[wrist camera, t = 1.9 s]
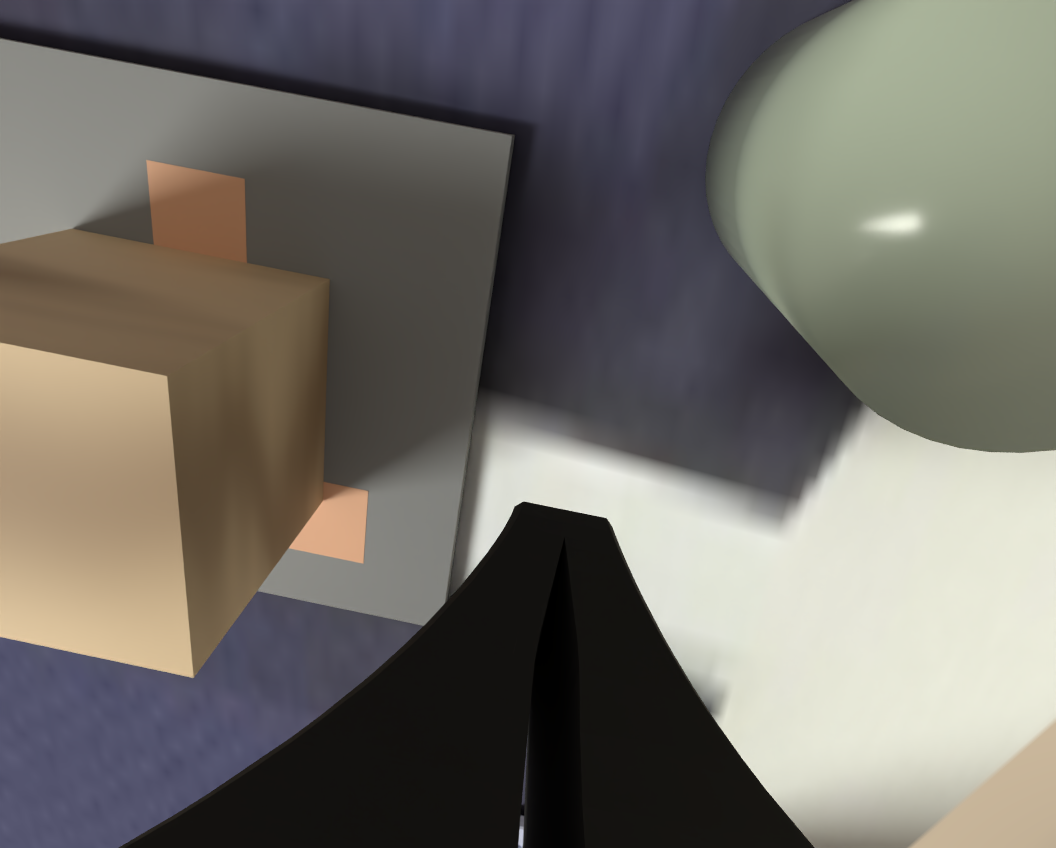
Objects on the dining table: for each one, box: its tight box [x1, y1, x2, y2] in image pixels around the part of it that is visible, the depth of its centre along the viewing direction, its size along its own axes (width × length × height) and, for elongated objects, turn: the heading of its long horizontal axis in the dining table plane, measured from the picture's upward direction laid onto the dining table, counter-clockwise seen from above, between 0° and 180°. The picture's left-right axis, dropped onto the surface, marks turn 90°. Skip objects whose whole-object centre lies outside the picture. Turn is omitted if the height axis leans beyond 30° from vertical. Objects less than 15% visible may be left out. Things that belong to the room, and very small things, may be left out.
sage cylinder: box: [705, 0, 1056, 453], centre depth 8 cm, size 4×4×6 cm
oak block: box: [0, 229, 330, 678], centre depth 11 cm, size 5×5×5 cm
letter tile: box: [0, 38, 515, 626], centre depth 13 cm, size 11×11×1 cm
